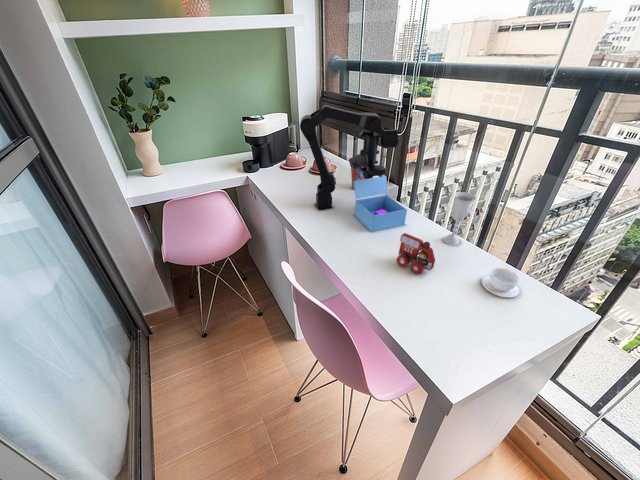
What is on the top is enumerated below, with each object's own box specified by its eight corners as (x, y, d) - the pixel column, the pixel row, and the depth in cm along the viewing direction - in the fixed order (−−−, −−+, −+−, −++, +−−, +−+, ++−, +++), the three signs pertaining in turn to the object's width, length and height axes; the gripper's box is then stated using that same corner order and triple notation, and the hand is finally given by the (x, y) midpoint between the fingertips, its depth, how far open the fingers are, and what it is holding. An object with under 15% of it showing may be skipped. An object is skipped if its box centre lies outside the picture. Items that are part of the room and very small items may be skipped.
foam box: (354, 215, 132) (355, 200, 128) (384, 209, 136) (387, 194, 132) (371, 231, 120) (373, 216, 116) (404, 225, 124) (407, 209, 120)
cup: (365, 191, 152) (367, 167, 145) (348, 190, 153) (349, 167, 146) (365, 184, 159) (368, 161, 152) (349, 183, 161) (351, 160, 154)
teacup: (502, 302, 87) (508, 290, 84) (473, 282, 95) (478, 270, 92) (526, 292, 90) (532, 280, 87) (497, 273, 98) (502, 261, 95)
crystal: (385, 223, 124) (387, 213, 122) (372, 222, 126) (373, 212, 123) (386, 217, 128) (388, 207, 126) (373, 216, 130) (374, 206, 127)
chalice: (446, 234, 118) (459, 190, 107) (464, 240, 114) (479, 195, 103) (438, 241, 113) (450, 196, 103) (456, 248, 109) (470, 202, 99)
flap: (355, 198, 127) (355, 198, 128) (387, 193, 131) (386, 193, 131) (354, 180, 125) (354, 180, 126) (386, 175, 129) (385, 175, 129)
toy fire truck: (425, 278, 96) (432, 252, 90) (391, 262, 104) (396, 236, 98) (435, 269, 100) (443, 242, 94) (402, 254, 108) (407, 228, 102)
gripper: (342, 144, 128) (340, 179, 138) (363, 157, 114) (359, 195, 123) (366, 141, 131) (362, 176, 140) (389, 153, 117) (384, 191, 126)
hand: (366, 184), depth 132 cm, fingers closed
